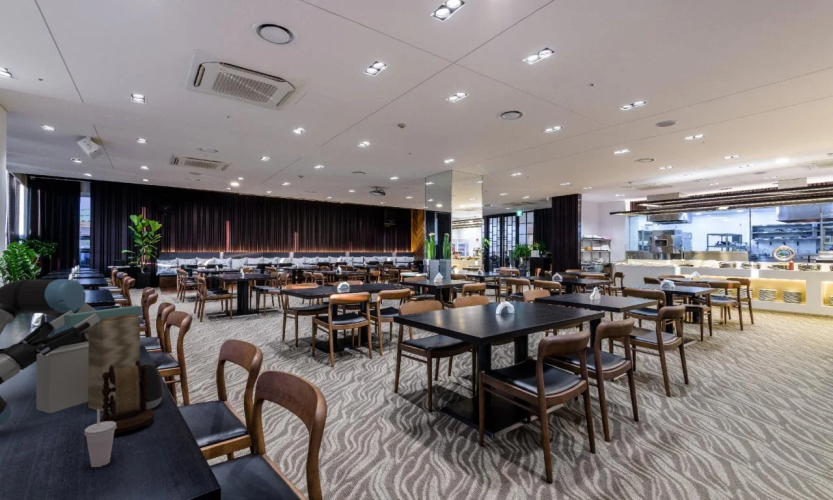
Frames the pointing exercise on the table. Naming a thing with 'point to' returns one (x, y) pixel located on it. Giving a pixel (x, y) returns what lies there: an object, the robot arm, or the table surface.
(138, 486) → the table surface
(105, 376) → the scroll
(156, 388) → the pump dispenser
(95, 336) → the brown tall block
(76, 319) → the teal block
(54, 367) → the block
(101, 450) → the smoothie
